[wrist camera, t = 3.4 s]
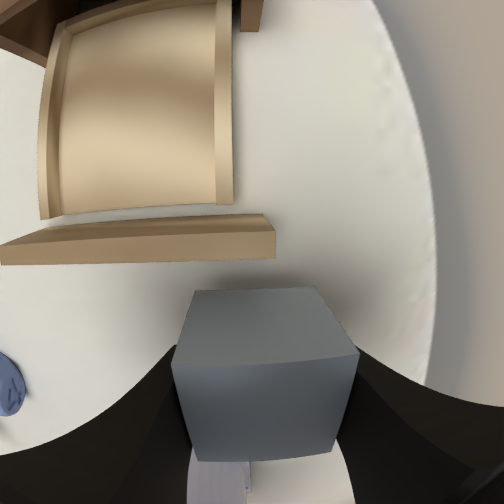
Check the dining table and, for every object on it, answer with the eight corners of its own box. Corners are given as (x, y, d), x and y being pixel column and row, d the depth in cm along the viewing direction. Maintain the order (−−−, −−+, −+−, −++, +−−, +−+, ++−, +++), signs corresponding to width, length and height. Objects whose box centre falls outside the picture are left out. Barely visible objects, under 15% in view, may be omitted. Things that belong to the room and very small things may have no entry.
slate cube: (305, 375, 11) (331, 451, 7) (206, 380, 10) (197, 461, 6) (314, 286, 10) (360, 353, 6) (195, 290, 9) (170, 364, 5)
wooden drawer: (263, 232, 12) (275, 258, 8) (47, 243, 11) (1, 265, 7) (257, 2, 9) (264, -46, 5) (55, 42, 8) (18, 19, 4)
